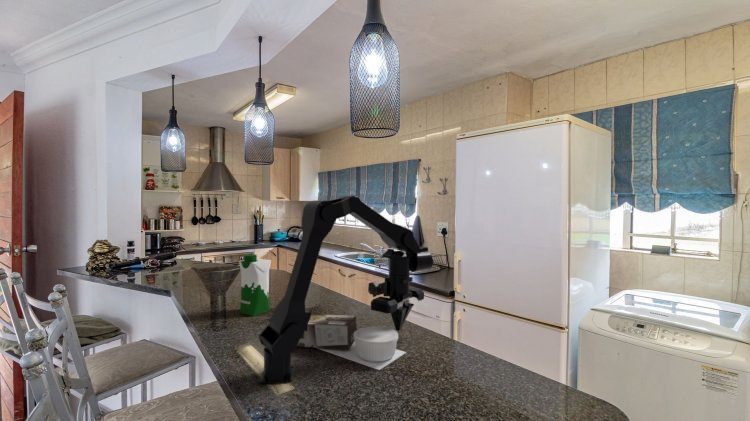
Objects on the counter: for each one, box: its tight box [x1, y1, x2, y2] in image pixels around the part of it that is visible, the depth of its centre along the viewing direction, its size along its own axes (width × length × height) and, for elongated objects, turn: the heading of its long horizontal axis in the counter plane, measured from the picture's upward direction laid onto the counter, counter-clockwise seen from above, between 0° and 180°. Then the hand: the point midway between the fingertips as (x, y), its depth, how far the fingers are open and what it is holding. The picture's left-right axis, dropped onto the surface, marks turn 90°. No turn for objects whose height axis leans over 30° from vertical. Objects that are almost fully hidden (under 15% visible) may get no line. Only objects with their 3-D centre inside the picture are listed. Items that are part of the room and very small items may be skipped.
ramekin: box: [354, 326, 399, 362], centre depth 89 cm, size 11×11×5 cm
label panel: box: [316, 341, 407, 371], centre depth 92 cm, size 22×12×1 cm, turn 54°
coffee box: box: [297, 313, 358, 350], centre depth 96 cm, size 9×6×16 cm
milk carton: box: [238, 253, 272, 317], centre depth 123 cm, size 9×9×20 cm
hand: (398, 330), depth 97 cm, fingers closed
